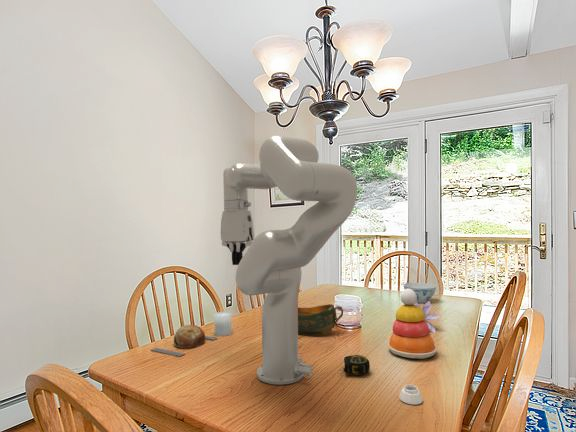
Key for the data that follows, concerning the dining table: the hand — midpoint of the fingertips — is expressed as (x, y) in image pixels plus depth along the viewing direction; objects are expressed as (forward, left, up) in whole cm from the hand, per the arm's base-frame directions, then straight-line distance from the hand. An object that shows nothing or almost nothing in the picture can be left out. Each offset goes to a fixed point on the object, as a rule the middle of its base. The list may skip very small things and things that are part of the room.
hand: (237, 264), depth 115 cm
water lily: (-49, -46, -27) cm, 73 cm away
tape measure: (-38, +1, -27) cm, 47 cm away
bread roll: (+18, +2, -27) cm, 33 cm away
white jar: (-54, +10, -27) cm, 61 cm away
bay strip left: (+18, +12, -27) cm, 35 cm away
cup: (+14, -11, -27) cm, 32 cm away
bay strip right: (+18, -4, -27) cm, 33 cm away
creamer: (-15, -25, -27) cm, 40 cm away
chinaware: (-44, -92, -27) cm, 106 cm away
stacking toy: (-50, -20, -27) cm, 60 cm away
